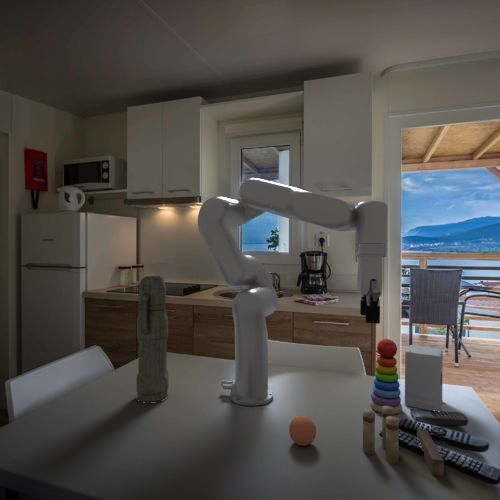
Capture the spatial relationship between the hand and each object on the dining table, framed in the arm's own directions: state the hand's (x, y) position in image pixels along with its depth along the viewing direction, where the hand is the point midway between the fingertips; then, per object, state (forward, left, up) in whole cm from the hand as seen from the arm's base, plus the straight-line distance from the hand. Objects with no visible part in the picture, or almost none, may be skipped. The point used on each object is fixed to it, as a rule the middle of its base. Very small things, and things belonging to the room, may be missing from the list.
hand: (369, 318), depth 91 cm
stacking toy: (+5, +7, -26) cm, 27 cm away
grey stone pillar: (-60, +1, -26) cm, 65 cm away
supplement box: (+16, +13, -26) cm, 33 cm away
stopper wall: (+10, -15, -26) cm, 31 cm away
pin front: (-2, -15, -26) cm, 29 cm away
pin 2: (+3, -17, -26) cm, 31 cm away
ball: (-16, -15, -23) cm, 31 cm away
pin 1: (+3, -12, -26) cm, 28 cm away
